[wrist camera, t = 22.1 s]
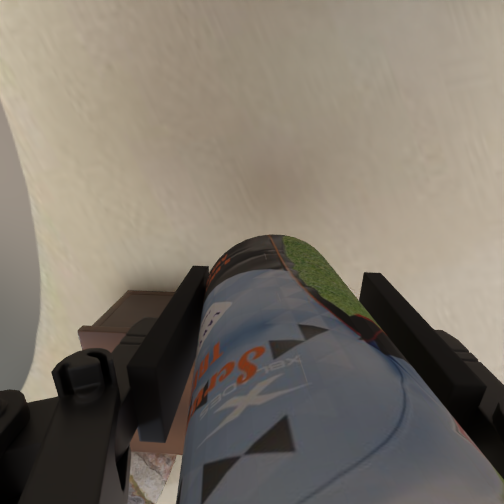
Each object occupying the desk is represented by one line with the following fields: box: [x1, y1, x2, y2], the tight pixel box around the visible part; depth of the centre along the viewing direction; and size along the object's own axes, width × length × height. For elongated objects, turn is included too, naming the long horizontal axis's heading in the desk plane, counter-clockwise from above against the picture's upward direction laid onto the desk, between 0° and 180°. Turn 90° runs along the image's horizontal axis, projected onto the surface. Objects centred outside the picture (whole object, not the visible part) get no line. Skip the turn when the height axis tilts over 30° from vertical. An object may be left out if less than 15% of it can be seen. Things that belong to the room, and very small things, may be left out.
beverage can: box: [176, 235, 504, 504], centre depth 8 cm, size 6×7×12 cm
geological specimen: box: [127, 452, 176, 504], centre depth 40 cm, size 11×6×15 cm
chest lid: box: [78, 326, 196, 455], centre depth 26 cm, size 15×12×1 cm
